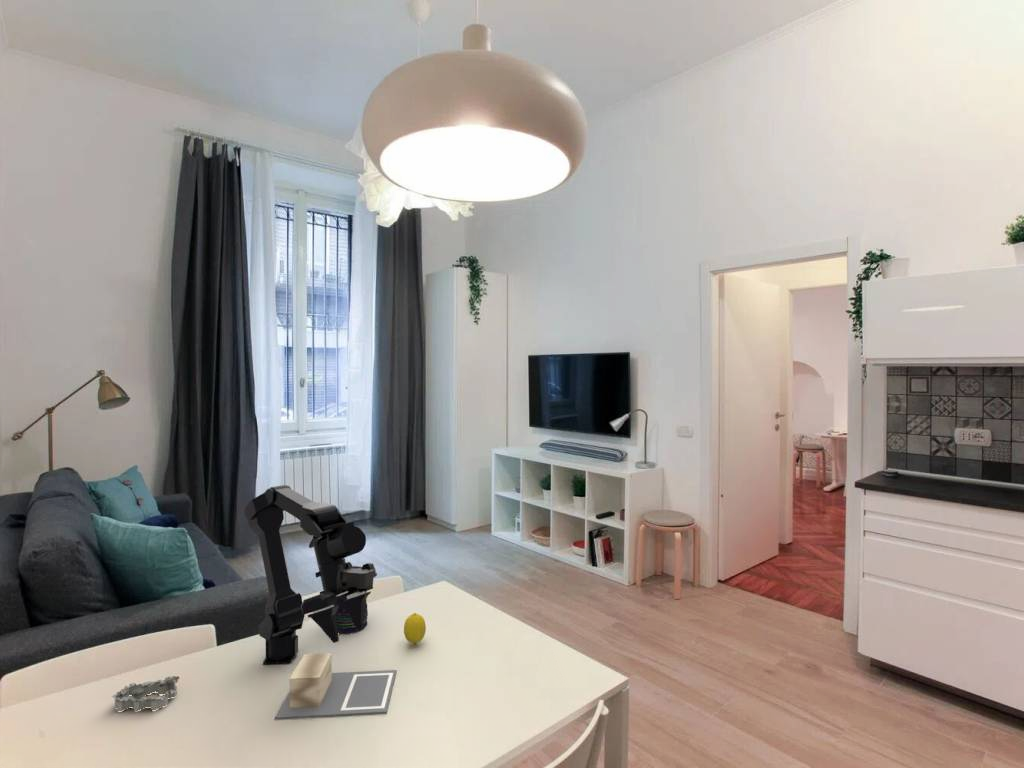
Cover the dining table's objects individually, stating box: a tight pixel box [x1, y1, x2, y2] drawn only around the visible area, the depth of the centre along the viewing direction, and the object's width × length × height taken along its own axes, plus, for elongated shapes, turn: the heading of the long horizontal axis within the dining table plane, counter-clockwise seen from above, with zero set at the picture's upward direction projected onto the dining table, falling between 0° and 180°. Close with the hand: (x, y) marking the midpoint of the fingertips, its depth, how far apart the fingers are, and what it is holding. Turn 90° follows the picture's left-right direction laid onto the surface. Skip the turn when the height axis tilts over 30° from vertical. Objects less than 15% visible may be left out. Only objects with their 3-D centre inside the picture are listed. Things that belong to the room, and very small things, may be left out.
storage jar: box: [334, 565, 369, 635], centre depth 150 cm, size 10×10×15 cm
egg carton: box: [111, 675, 180, 712], centre depth 115 cm, size 11×8×4 cm
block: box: [289, 652, 333, 708], centre depth 117 cm, size 6×10×6 cm, turn 5°
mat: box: [274, 669, 397, 720], centre depth 118 cm, size 22×16×1 cm
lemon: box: [403, 612, 427, 645], centre depth 140 cm, size 6×6×8 cm
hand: (348, 635), depth 116 cm, fingers open, 9 cm apart
